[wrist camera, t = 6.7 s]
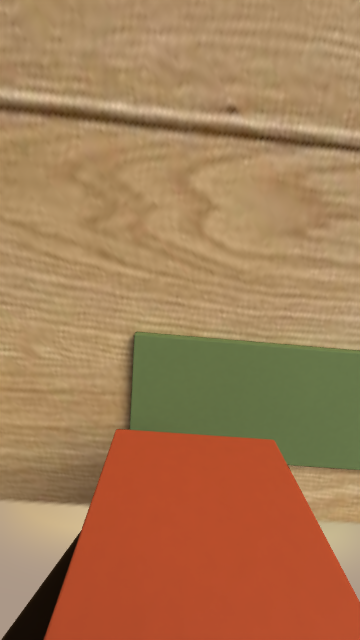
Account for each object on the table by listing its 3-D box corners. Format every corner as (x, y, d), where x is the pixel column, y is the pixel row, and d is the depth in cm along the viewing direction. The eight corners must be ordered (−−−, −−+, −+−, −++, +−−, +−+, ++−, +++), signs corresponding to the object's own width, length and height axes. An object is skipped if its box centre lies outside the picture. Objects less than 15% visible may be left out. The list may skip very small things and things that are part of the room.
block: (274, 438, 8) (430, 730, 3) (249, 553, 9) (330, 889, 4) (116, 428, 8) (14, 719, 3) (112, 546, 9) (37, 888, 4)
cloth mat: (497, 362, 13) (509, 365, 13) (449, 469, 15) (458, 477, 14) (135, 331, 12) (134, 334, 12) (130, 447, 14) (128, 454, 14)
